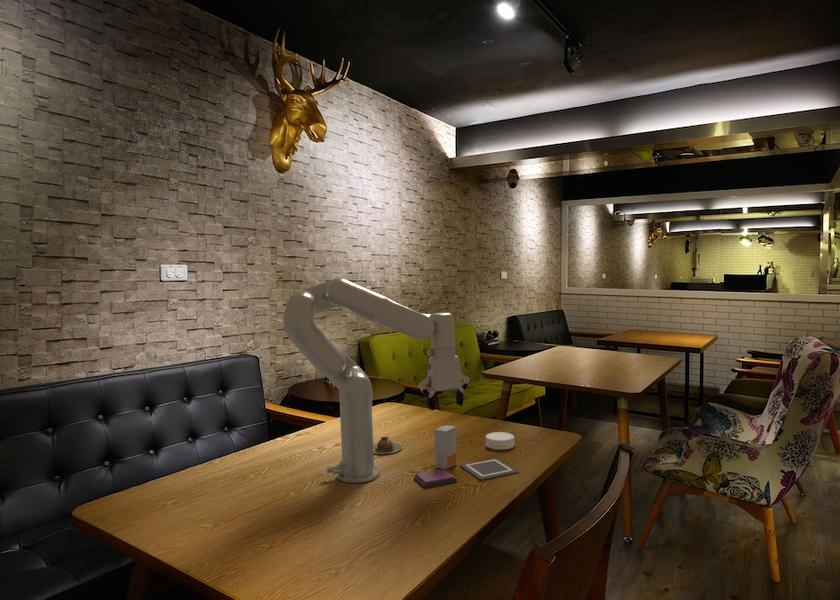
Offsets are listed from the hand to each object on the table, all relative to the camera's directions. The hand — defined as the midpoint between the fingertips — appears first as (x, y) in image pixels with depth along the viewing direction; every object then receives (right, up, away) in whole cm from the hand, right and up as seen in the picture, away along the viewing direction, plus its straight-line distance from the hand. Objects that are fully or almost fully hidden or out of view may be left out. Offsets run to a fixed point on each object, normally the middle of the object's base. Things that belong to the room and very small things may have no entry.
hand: (445, 407), depth 166 cm
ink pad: (-4, -19, -11) cm, 22 cm away
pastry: (-20, -19, +18) cm, 33 cm away
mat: (+13, -18, -4) cm, 23 cm away
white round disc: (+20, -17, +19) cm, 32 cm away
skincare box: (0, -19, +1) cm, 19 cm away
